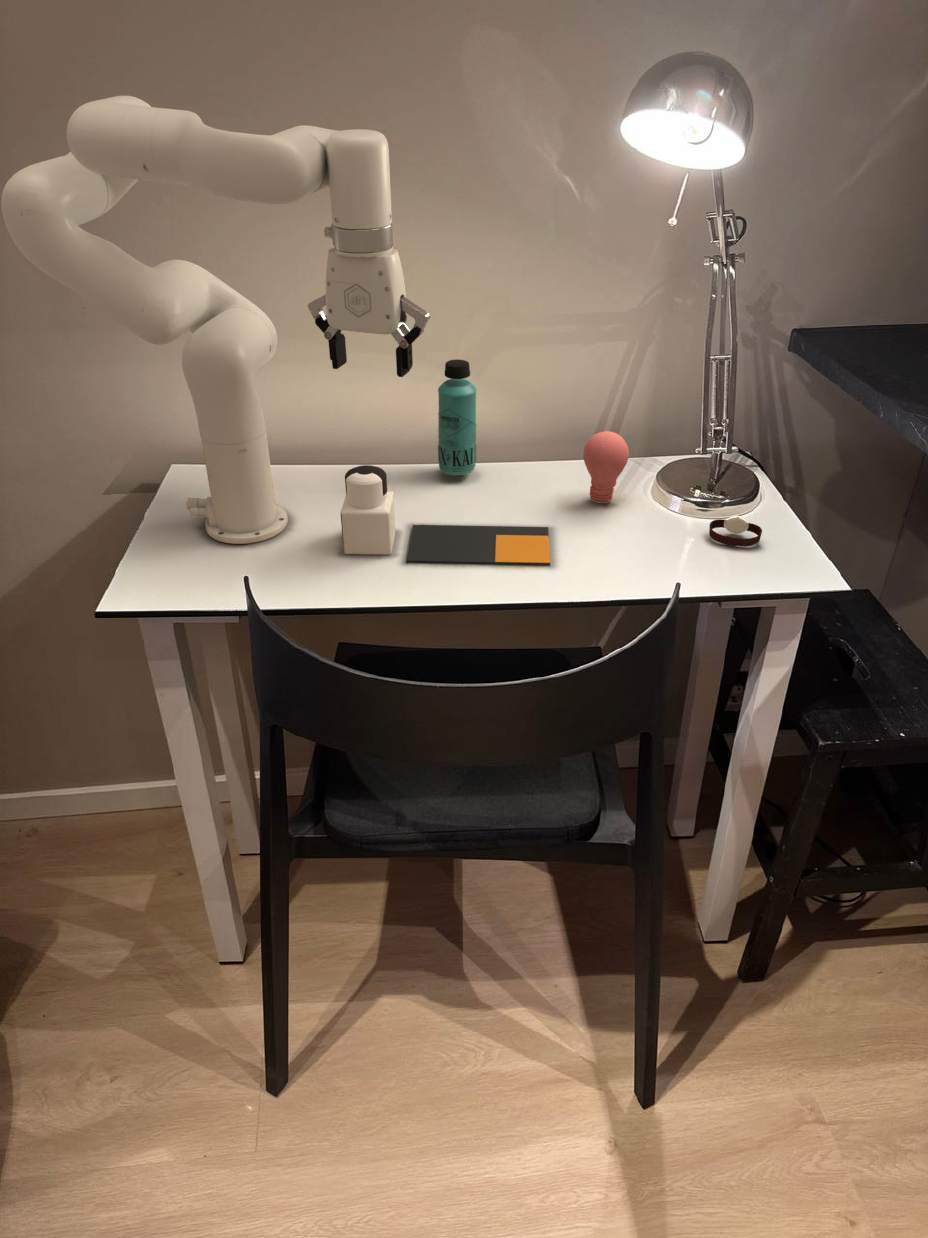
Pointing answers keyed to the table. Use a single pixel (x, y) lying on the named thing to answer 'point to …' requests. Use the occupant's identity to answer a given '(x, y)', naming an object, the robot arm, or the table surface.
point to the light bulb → (605, 463)
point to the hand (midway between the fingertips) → (371, 369)
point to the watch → (735, 531)
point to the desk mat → (479, 545)
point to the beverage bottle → (457, 420)
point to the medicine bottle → (367, 512)
